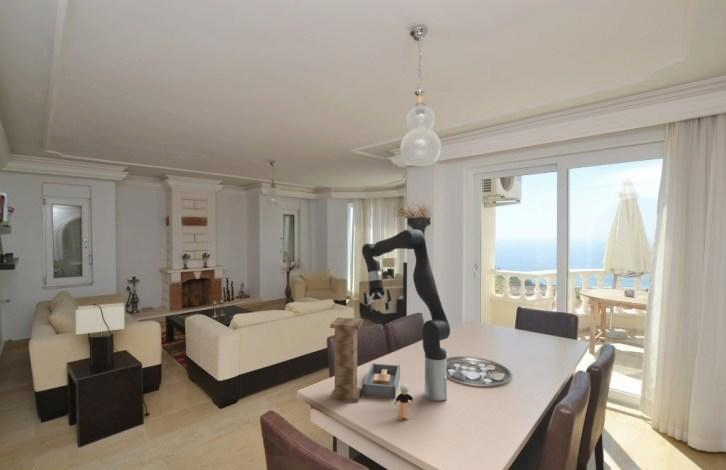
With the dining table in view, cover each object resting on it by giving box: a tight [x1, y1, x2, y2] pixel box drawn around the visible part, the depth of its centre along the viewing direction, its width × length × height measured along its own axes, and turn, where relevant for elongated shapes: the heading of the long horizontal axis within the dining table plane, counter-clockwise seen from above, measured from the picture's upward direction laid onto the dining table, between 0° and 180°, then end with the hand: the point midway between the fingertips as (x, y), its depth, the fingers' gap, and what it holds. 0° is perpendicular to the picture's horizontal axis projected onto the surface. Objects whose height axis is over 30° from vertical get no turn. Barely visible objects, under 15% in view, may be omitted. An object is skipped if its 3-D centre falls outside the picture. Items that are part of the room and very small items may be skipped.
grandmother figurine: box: [393, 384, 415, 421], centre depth 129 cm, size 8×4×13 cm, turn 105°
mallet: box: [373, 369, 390, 385], centre depth 158 cm, size 7×16×4 cm, turn 170°
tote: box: [362, 362, 401, 399], centre depth 157 cm, size 14×24×5 cm, turn 169°
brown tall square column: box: [329, 317, 364, 403], centre depth 147 cm, size 12×12×32 cm
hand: (379, 311), depth 174 cm, fingers open, 8 cm apart
